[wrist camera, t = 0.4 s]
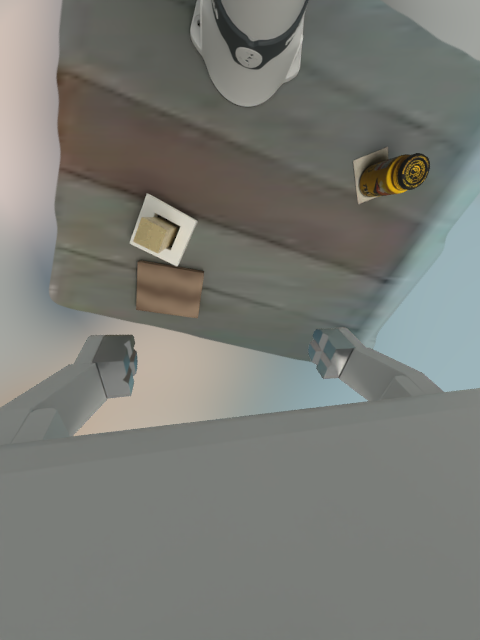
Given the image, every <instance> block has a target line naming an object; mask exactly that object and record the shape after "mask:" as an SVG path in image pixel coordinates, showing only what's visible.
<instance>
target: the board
mask: <svg viewBox="0 0 480 640" xmlns="http://www.w3.org/2000/svg"><path fill="white" fill-rule="evenodd" d="M203 277H204V271H200V270H194V269H188V268H182V267H176V266H171V265H165V264H159V263H153V262H148V261H142V260H140V261H138V268H137V302H136V310H142V311H149V312H156V313H163V314H171V315H178V316H185V317H193V318H198V313H199V306H200V298H201V291H202V284H203Z"/></svg>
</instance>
